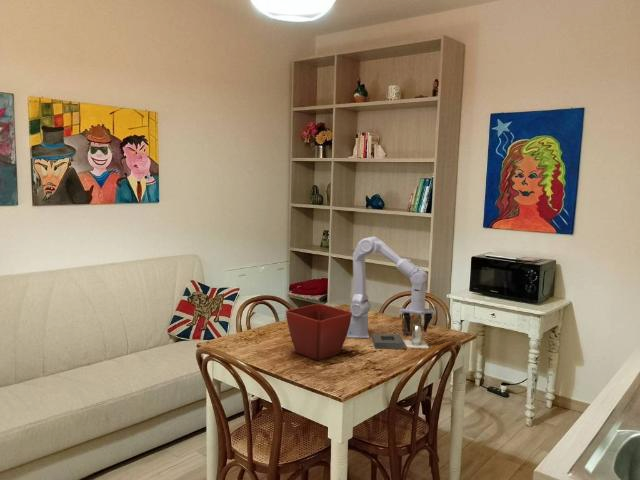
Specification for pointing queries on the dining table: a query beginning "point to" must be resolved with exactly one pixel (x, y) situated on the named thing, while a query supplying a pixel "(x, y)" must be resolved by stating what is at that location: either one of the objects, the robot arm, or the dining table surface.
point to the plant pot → (318, 330)
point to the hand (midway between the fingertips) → (416, 331)
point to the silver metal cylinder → (417, 334)
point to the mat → (409, 345)
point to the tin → (411, 323)
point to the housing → (387, 341)
